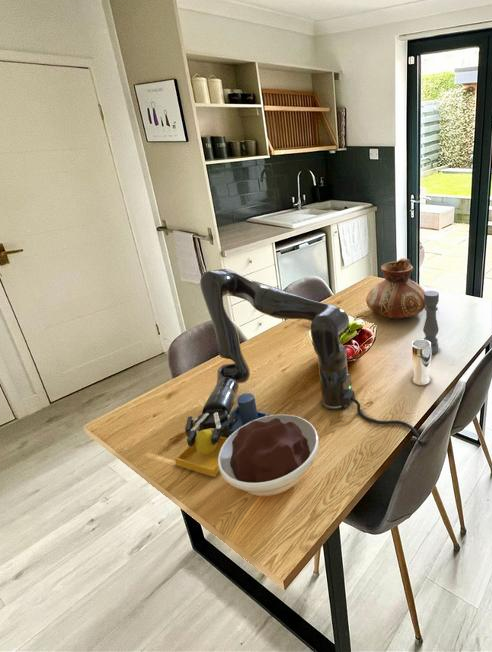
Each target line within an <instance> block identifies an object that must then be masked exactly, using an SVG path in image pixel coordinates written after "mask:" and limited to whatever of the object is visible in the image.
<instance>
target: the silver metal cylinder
mask: <svg viewBox="0 0 492 652" xmlns="http://www.w3.org/2000/svg"><path fill="white" fill-rule="evenodd" d="M410 351H411V363H412V368H413V377H412V383H414V384H415V385H418V386H426V385H428V384H429V383H430V382H431V378H430V368H431V362H432V354H431V343H430V342H429V341H428V340H424V338H423V339H422V338H421V339H415V340H413V341H412V342H411V350H410Z"/></svg>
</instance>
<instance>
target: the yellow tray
mask: <svg viewBox="0 0 492 652" xmlns="http://www.w3.org/2000/svg"><path fill="white" fill-rule="evenodd" d="M227 439H228V437H226V436H222V435H221V436H220V439H219V441H218V442H217V446H216V448H215V450H214V451H213V452H211V453H209V454H201V453H199V452H198V451H197V449H196V446H195V442H194V445H193V446H192V447H189V445H188V446H186V448H185V449H184V450H182V451H181V452H180V453H179V454H178V455H177V456H175V457H174V462H175V465H176V466H177V467H181V468H184V469H186V470H190V471H194V472H197V473H200V474H203V475H207V476H210V477H213V478H215V477H217V476H218V475H219V473H220V471H219V468H218V456H219V452H220V450H221V447H222V446H223V444H224V442H225V441H226V440H227Z"/></svg>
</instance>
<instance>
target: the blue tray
mask: <svg viewBox="0 0 492 652" xmlns="http://www.w3.org/2000/svg"><path fill="white" fill-rule="evenodd" d="M232 413H236V417H237V422H236V423H235V425H234V426H233V428H232V429H231V431H230V432H229V433H227V434H226V433H223V434H222V435H226V436H230V435H231V434H232V433H234V432H235V431H236V430H237V429H239V428H240V427H242V426H243V425H242V421H241V416H240V412H239V407H238V405H237V406H236V407H235V408H233V409H232V410H231V411H230V413H229V415H231V414H232ZM257 413H258V418H262V417H266V416H270V413H269V412H264V411H259V410H257ZM225 423H226V422H224V423H223V424H221V427H222V426H224V424H225Z"/></svg>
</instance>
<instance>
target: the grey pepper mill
mask: <svg viewBox="0 0 492 652" xmlns="http://www.w3.org/2000/svg"><path fill="white" fill-rule="evenodd" d="M439 300H440V293H439V292H438V291H436V290H426V291H425V292H424V302H425V304H426V306H425V308H424V311H425V314H426V315H425V321H424V325H423V329H422V331H423V333H424V338H423V339H424V340H428V341H429V342H430V343H431V355H435V354H437V353H438V352H439V339H438V337H437V335H438V333H439V331H440V329H439V324H438V320H437V311H438V310H439V307H438V304H439Z"/></svg>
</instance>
